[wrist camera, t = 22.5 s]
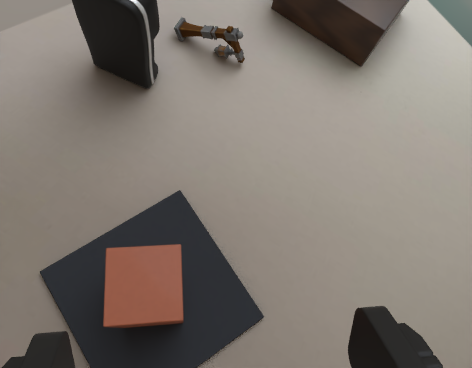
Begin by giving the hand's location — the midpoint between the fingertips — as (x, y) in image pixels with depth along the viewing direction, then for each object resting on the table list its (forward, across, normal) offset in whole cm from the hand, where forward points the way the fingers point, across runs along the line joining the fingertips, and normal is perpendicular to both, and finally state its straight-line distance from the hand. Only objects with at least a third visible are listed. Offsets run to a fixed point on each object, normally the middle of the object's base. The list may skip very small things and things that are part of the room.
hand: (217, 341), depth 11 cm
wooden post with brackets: (+39, -3, -4) cm, 39 cm away
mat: (+20, +4, +15) cm, 25 cm away
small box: (+20, +4, +15) cm, 25 cm away
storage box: (+43, -19, -8) cm, 48 cm away
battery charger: (+37, +6, -2) cm, 38 cm away
